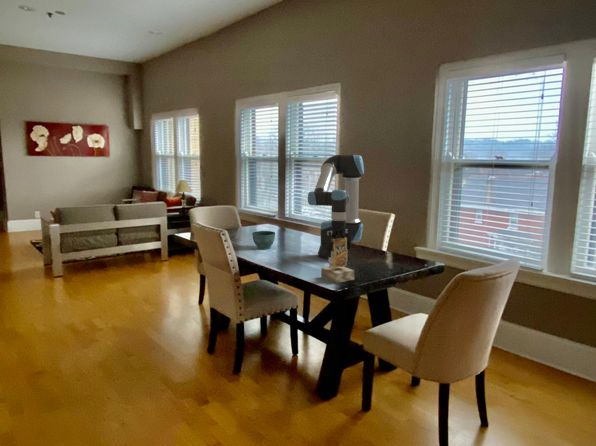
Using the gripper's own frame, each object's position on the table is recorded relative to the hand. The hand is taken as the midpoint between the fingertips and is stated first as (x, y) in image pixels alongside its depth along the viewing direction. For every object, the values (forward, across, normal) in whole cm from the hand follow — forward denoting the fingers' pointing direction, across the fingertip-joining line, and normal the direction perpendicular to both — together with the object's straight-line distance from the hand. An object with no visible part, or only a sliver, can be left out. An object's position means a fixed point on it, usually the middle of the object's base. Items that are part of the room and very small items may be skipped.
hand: (337, 262), depth 229 cm
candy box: (+3, 0, 0) cm, 3 cm away
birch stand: (+9, 0, 0) cm, 9 cm away
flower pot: (+9, -2, -88) cm, 88 cm away
